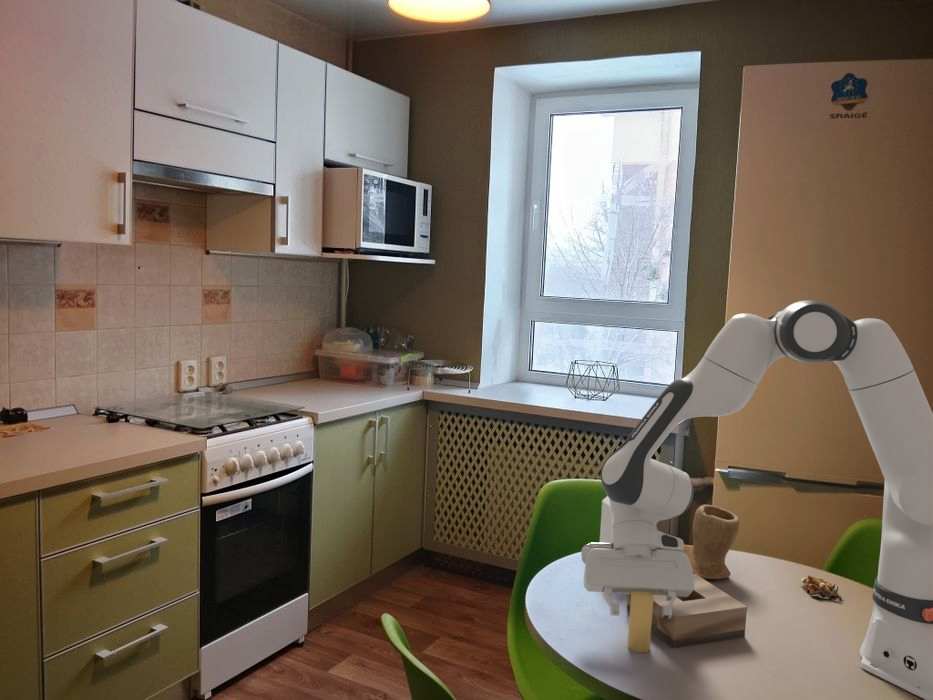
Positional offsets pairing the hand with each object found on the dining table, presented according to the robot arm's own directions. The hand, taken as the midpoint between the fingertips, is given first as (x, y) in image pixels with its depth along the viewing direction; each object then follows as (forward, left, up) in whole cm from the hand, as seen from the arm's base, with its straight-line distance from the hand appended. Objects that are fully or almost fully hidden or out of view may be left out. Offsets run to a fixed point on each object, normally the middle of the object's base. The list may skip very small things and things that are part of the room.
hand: (641, 616), depth 144 cm
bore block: (+6, -14, -6) cm, 17 cm away
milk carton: (+34, -16, -6) cm, 38 cm away
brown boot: (+28, -35, -6) cm, 46 cm away
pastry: (+13, -53, -7) cm, 55 cm away
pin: (0, 0, -6) cm, 6 cm away
